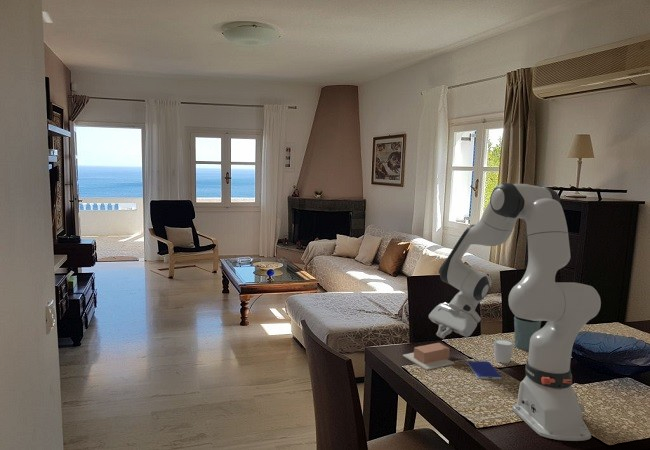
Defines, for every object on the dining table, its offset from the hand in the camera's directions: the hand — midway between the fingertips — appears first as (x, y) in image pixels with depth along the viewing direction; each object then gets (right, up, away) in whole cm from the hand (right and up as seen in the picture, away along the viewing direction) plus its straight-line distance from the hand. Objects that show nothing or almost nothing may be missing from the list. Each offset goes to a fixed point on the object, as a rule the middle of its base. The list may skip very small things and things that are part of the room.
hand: (439, 336), depth 178 cm
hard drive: (+13, -11, -10) cm, 20 cm away
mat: (-5, -8, -1) cm, 10 cm away
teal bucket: (+38, -8, +15) cm, 42 cm away
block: (+2, -6, +2) cm, 6 cm away
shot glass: (+24, -9, 0) cm, 26 cm away
